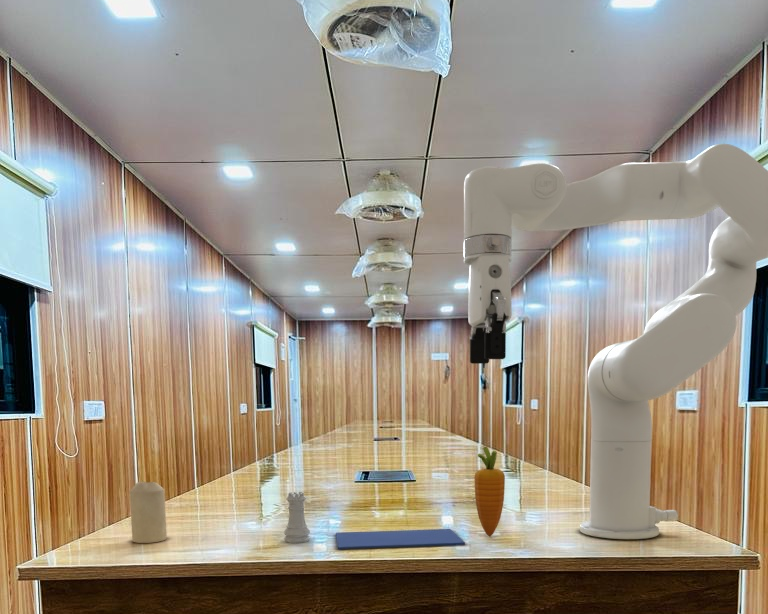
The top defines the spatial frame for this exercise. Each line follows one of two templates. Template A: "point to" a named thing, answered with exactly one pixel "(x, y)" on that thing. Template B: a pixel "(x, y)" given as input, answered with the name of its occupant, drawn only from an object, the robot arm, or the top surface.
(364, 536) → the napkin
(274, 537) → the top surface
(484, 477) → the carrot
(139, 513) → the candle
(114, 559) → the top surface
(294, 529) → the rook chess piece
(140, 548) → the top surface
